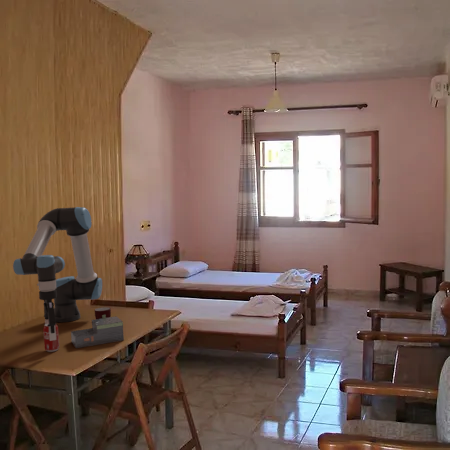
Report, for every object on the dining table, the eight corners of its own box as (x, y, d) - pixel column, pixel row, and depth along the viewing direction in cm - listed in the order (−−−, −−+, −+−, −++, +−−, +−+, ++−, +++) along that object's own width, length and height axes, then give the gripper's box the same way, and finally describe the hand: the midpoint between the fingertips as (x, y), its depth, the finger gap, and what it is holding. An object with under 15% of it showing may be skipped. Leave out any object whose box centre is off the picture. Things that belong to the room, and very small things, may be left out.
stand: (71, 344, 262) (70, 319, 261) (117, 337, 271) (116, 313, 270) (76, 351, 251) (74, 325, 250) (124, 343, 260) (122, 318, 259)
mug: (106, 331, 277) (105, 312, 276) (91, 331, 278) (89, 312, 277) (114, 326, 287) (112, 307, 286) (99, 326, 289) (98, 307, 288)
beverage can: (46, 348, 252) (44, 322, 251) (60, 347, 253) (58, 322, 252) (43, 353, 246) (41, 326, 245) (57, 351, 246) (55, 325, 246)
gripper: (35, 287, 257) (39, 332, 258) (42, 295, 234) (45, 344, 236) (52, 285, 260) (55, 329, 261) (60, 293, 237) (63, 341, 239)
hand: (51, 336), depth 249 cm, fingers open, 13 cm apart
